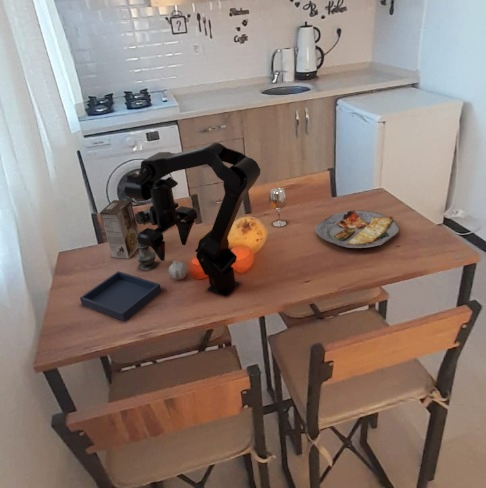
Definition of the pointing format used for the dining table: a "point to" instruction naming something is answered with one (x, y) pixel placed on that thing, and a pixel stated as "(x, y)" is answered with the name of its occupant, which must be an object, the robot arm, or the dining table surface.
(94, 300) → the tray
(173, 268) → the garlic
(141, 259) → the grey tall tiered piece
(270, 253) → the dining table surface
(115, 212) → the coffee box
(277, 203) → the wineglass
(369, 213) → the food plate
